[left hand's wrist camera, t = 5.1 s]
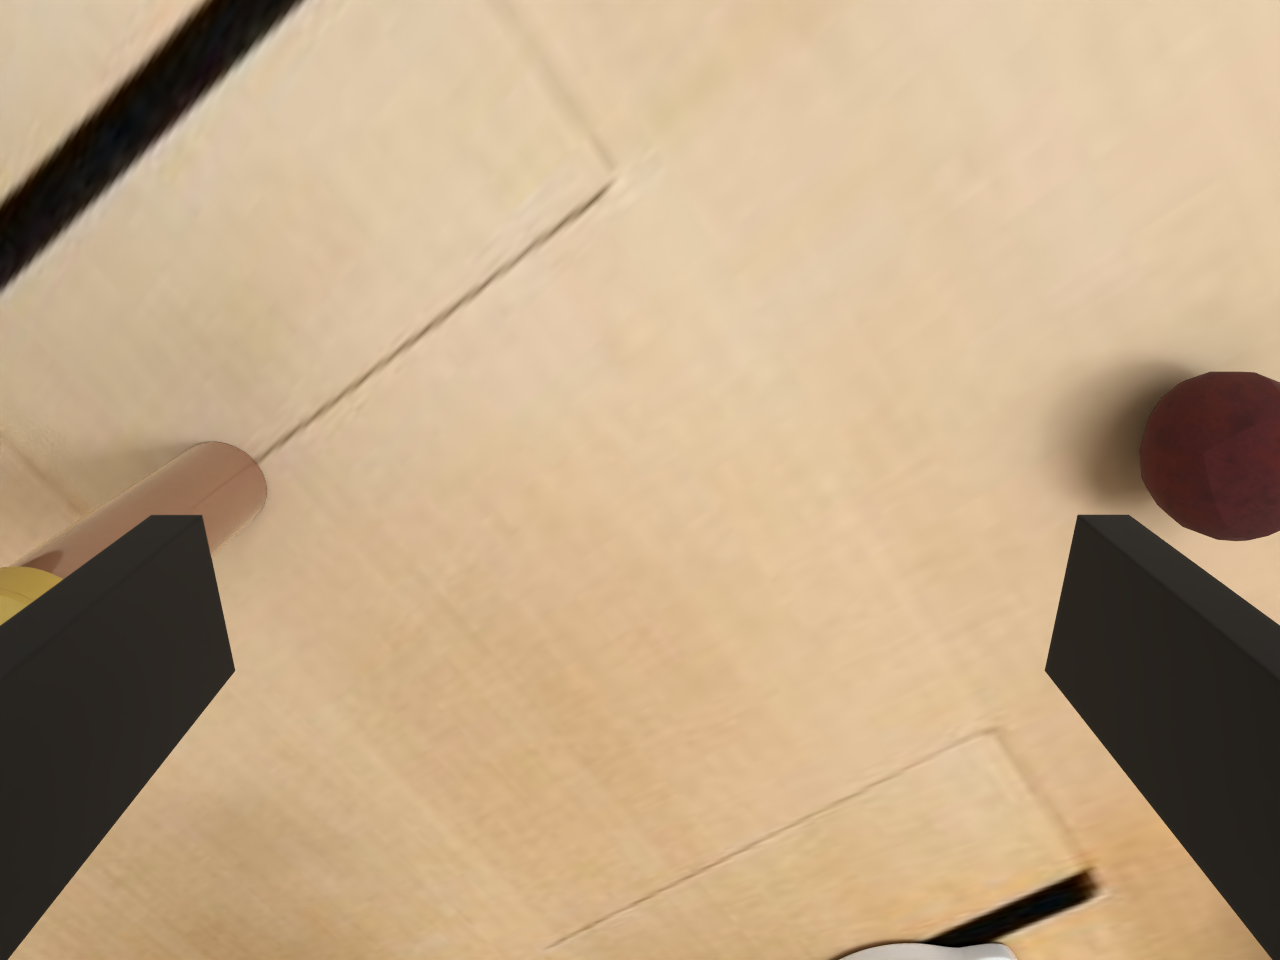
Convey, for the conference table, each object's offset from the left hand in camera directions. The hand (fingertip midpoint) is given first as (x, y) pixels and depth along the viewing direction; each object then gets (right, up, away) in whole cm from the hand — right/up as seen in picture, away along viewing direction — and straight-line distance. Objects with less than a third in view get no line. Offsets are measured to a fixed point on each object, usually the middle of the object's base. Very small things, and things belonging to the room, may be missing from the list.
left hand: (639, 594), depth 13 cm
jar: (-21, +1, +29) cm, 36 cm away
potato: (+27, +4, +28) cm, 39 cm away
